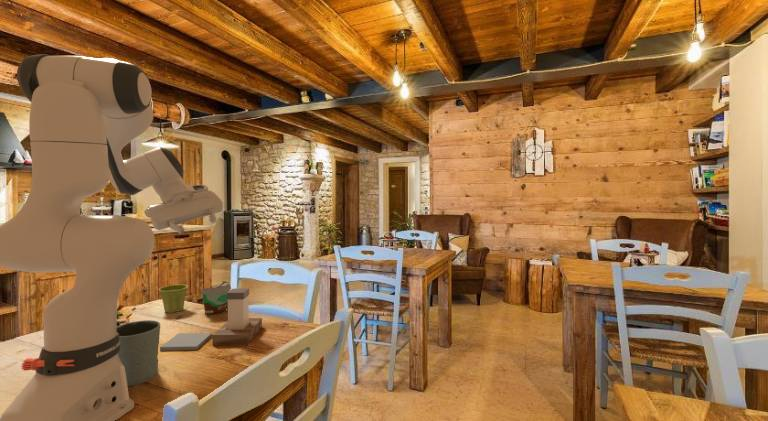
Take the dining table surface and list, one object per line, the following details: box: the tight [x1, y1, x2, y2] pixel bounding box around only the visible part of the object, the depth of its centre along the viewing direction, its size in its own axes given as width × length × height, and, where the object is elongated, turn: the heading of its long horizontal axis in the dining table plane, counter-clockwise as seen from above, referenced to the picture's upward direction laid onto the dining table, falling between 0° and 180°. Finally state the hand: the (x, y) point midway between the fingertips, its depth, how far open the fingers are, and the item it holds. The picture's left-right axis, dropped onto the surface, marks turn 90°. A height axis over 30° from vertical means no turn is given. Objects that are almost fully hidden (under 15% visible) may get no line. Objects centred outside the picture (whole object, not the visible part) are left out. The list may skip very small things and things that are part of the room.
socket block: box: [211, 317, 263, 346], centre depth 111 cm, size 14×10×3 cm
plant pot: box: [158, 284, 189, 314], centre depth 135 cm, size 9×9×9 cm
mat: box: [159, 332, 213, 352], centre depth 105 cm, size 10×10×1 cm
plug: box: [227, 287, 250, 330], centre depth 110 cm, size 5×5×14 cm
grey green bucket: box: [117, 319, 161, 387], centre depth 85 cm, size 10×10×12 cm
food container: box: [201, 280, 232, 316], centre depth 134 cm, size 12×6×10 cm, turn 168°
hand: (198, 226), depth 108 cm, fingers open, 8 cm apart
